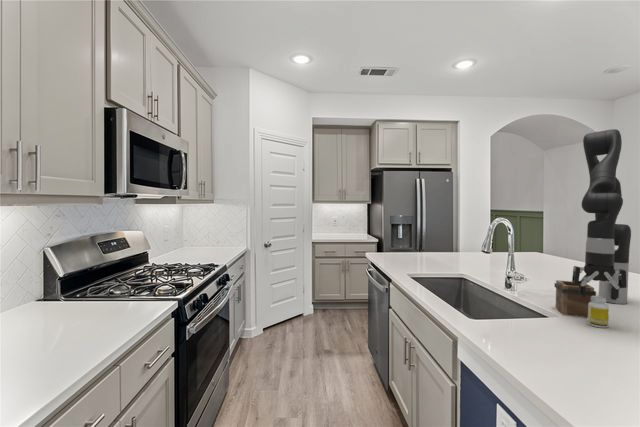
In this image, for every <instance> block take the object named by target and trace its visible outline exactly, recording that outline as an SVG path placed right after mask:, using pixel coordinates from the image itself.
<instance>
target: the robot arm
mask: <svg viewBox="0 0 640 427" xmlns="http://www.w3.org/2000/svg"><path fill="white" fill-rule="evenodd" d="M582 141H583V142H582V145H583V151H584V155H585V159H586V163H587V164H586V165H587V169H588V173H589V175H588V176H589V186H588V189H587V191H586V193H585V194H584V196H583V198H582V200H581V208H582V210H583V211H584V212H586V213H587V214H594V218H595V219H594V220H590V221H589V222H588V223H587V228H586V229H587V232H586V241H585V255H584V256H585V260H584V261H585V262H584V263H585V264H584V266H577V265H575V266H573V270H572V277H571V279H572V280H571V281H572V282H574V283H575V284H578V285H579V294H580V295H581V296H582V297H585V290H586V287H585V285H586V284H588V283H590V282H591V281H594V282H595V281H596V282H597V281H598V296H601V297H605V298H606V303H609V304H611V303H612V304H617V305H625V304H628V295H629V294H628V292H629V291H628V290H629V271H630V270H629V267H630V247H631V239H632V229H631V226H630V225H628V224H621V223H616V222H617V219H618V215H619V214H620V212H621V209H622V207H623V205H624V199H623V197H622V196H623V195H622V194H623V193H622V186H621V182H620V180H619V178H617V175H616V174H617V168H618V164H619V160H620V156H621V152H622V146H623V145H622V144H623V143H622V135H621V131H620V130H618V129H616V128H615V129H613V128H611V129H606V130H600V131H593V132H589V133H586V134H585V135H584V136H583V140H582ZM603 155H605V156H604V158H603V159H601V160H599V159H598V156H603ZM616 246H618V247H617V249H615V247H616ZM582 272H584V274H585V275H583V276H582V278H581V279H580V274H582Z"/></svg>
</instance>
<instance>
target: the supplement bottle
mask: <svg viewBox="0 0 640 427" xmlns="http://www.w3.org/2000/svg"><path fill="white" fill-rule="evenodd" d="M591 301H592V302H589V303H588V317H587V324H588V325H590V326H592V327H595V328H601V329H602V328H603V329H605V328H608V326H609V312H610V311H609V310H610V309H609V304H606V303H607V302H606V298H605V297H601V296H599V295H596V296H591Z"/></svg>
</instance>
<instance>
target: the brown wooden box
mask: <svg viewBox="0 0 640 427" xmlns="http://www.w3.org/2000/svg"><path fill="white" fill-rule="evenodd" d="M585 287H586V290H585V297H582V296H581V295H580V294H579V285H578V284H575V283H574V282H572V280H571V281H569V280H555V282H554V288H555V308H556V309H557V310H558V311H559V312H560V313H561V314H562V315H564V316H574V317H580V318H581V317H582V318H583V317H584V318H588V303H589V302H592V301H591V296H597V291H595V288H594V287H593V286H592V285H590V284H588V283H587V284H586V285H585Z"/></svg>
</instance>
